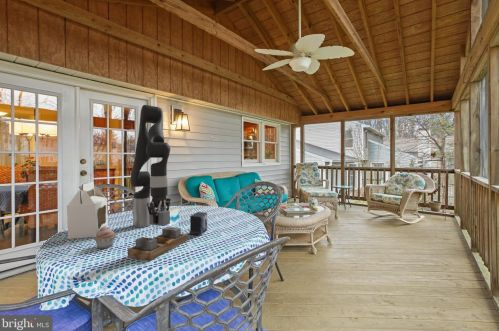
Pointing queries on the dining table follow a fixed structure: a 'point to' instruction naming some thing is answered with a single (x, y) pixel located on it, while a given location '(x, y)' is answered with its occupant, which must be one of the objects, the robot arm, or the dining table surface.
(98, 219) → the gable box
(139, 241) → the rack
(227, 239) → the dining table surface
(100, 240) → the cupcake
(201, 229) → the small box
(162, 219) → the block
